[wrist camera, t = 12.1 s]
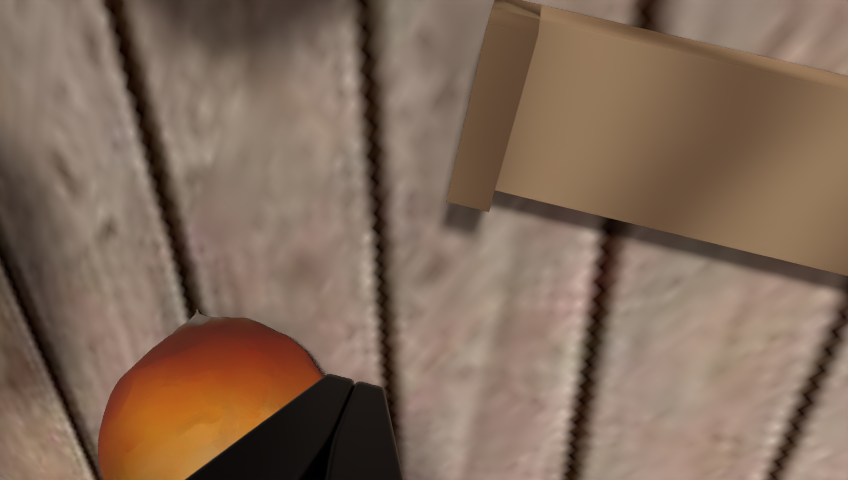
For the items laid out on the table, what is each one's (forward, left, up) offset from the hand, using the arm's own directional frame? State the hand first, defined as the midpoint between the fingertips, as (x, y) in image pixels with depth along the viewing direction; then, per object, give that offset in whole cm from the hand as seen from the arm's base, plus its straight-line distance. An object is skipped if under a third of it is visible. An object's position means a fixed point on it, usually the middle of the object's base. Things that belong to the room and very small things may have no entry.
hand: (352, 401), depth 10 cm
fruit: (-15, +1, -12) cm, 19 cm away
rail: (+4, -12, -12) cm, 17 cm away
